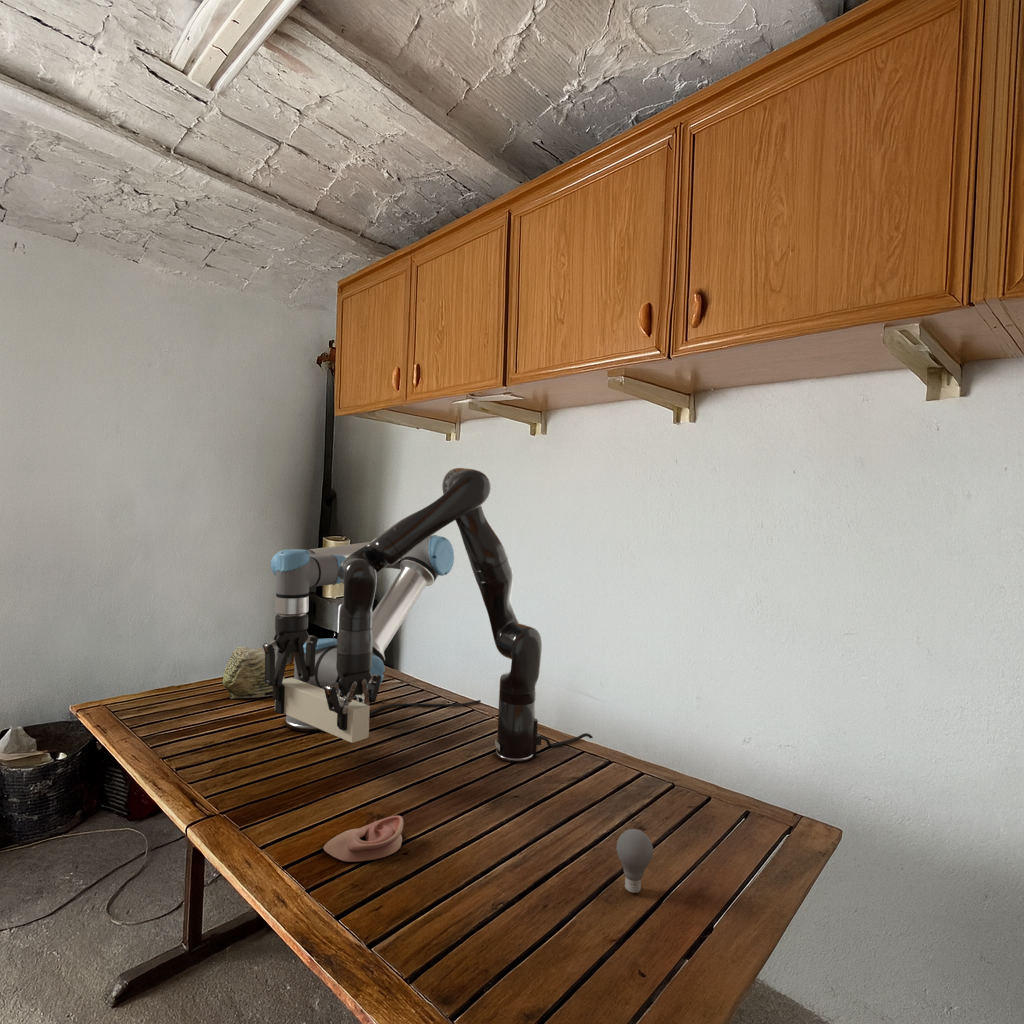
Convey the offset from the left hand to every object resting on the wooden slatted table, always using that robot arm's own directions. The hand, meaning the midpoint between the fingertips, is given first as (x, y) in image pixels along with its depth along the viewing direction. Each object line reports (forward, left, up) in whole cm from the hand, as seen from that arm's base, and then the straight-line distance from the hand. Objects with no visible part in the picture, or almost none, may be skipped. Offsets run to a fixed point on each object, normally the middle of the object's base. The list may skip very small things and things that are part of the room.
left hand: (289, 709), depth 153 cm
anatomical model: (+12, +45, -11) cm, 48 cm away
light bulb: (-9, +88, -11) cm, 89 cm away
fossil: (-19, -49, -11) cm, 53 cm away
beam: (0, +12, 0) cm, 12 cm away
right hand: (0, +24, +2) cm, 24 cm away
